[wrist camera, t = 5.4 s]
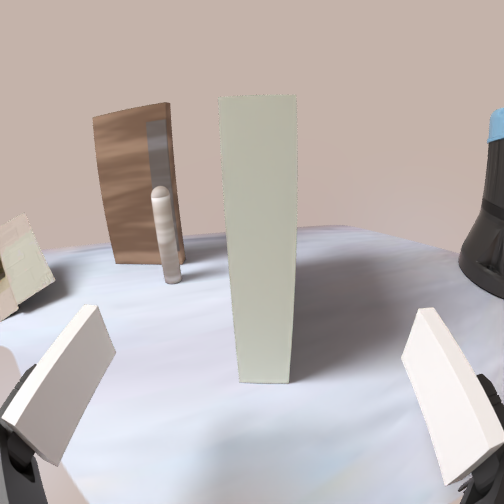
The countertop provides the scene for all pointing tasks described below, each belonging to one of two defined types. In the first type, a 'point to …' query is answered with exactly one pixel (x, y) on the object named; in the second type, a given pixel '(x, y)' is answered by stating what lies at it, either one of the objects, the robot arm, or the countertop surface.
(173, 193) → the walnut cabinet side
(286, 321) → the cream thick square slab
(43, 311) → the countertop surface
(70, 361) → the robot arm
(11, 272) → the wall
